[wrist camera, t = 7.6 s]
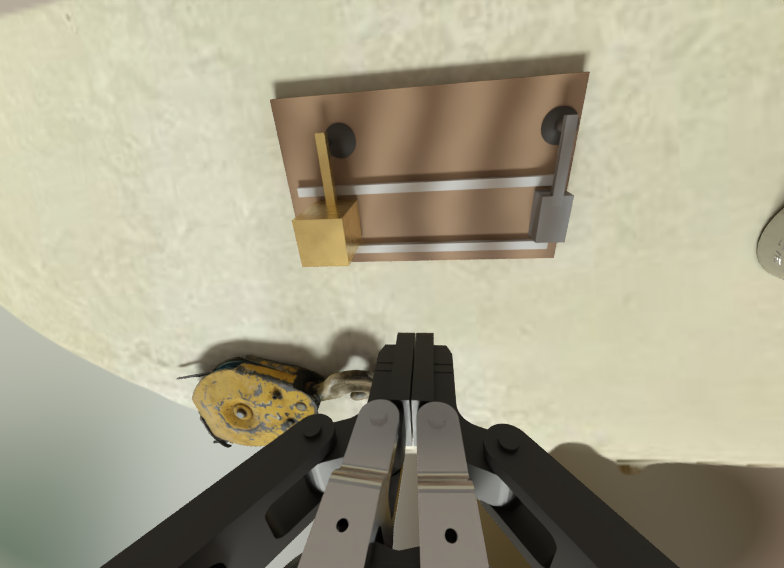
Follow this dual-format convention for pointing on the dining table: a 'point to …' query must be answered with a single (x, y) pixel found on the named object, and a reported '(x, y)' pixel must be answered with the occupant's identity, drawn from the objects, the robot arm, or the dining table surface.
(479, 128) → the gauge board
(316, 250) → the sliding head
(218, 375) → the pulley block
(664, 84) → the dining table surface
